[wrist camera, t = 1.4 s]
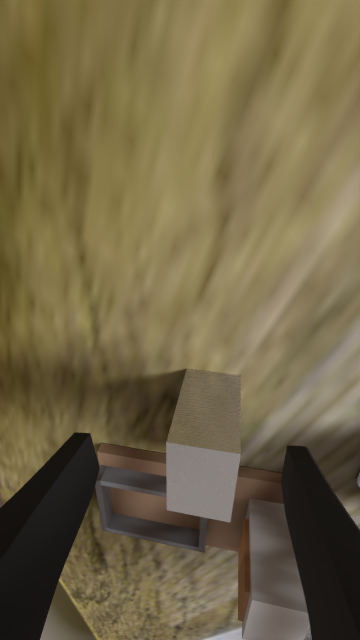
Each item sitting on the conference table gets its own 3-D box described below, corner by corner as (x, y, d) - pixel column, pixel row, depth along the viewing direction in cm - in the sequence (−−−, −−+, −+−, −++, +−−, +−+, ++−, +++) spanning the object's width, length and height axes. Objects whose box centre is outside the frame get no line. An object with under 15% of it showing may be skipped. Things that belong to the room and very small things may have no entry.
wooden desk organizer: (311, 478, 25) (339, 599, 18) (288, 551, 30) (302, 669, 23) (101, 443, 28) (53, 534, 21) (111, 514, 33) (75, 609, 25)
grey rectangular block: (240, 375, 22) (240, 454, 16) (232, 438, 25) (229, 526, 18) (186, 368, 22) (166, 442, 16) (184, 430, 25) (166, 514, 19)
